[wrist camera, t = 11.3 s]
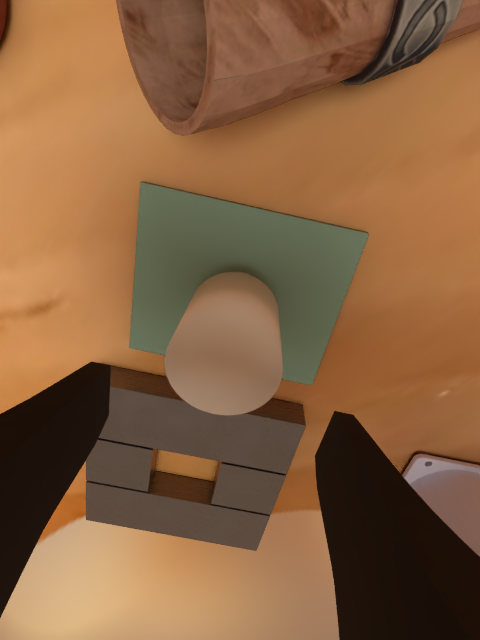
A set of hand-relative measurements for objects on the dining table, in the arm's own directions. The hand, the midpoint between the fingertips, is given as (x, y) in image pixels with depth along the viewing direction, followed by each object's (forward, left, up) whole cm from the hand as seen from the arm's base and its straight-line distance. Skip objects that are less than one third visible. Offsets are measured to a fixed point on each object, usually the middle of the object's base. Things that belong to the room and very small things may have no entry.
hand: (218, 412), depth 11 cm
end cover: (0, 0, -10) cm, 10 cm away
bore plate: (+1, +14, -10) cm, 17 cm away
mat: (0, 0, -10) cm, 10 cm away
